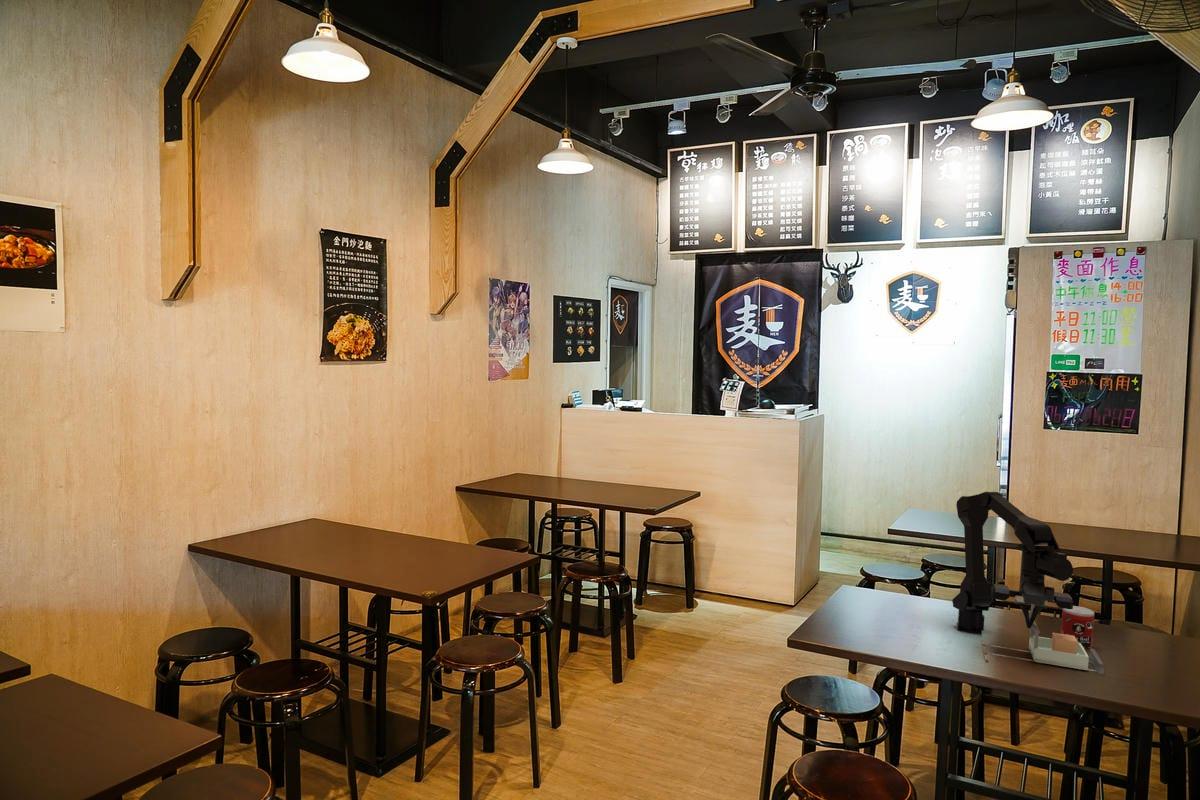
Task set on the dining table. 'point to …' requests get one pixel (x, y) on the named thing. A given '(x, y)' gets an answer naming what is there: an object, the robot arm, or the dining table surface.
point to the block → (1064, 643)
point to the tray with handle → (1055, 652)
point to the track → (1092, 656)
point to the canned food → (1079, 625)
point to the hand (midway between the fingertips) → (1028, 627)
